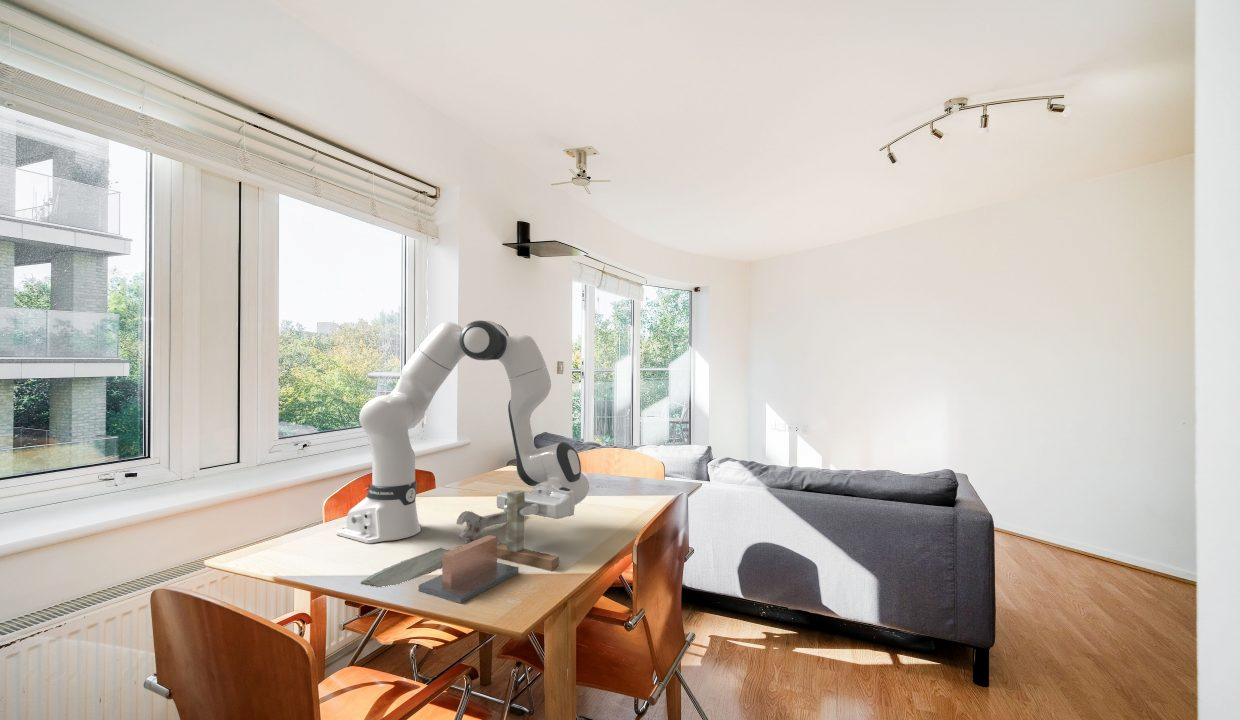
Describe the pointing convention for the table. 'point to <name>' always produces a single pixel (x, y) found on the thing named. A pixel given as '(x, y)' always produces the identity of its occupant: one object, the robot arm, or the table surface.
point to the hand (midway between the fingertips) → (513, 511)
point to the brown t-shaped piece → (521, 538)
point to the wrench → (478, 523)
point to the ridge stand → (469, 571)
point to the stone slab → (407, 569)
